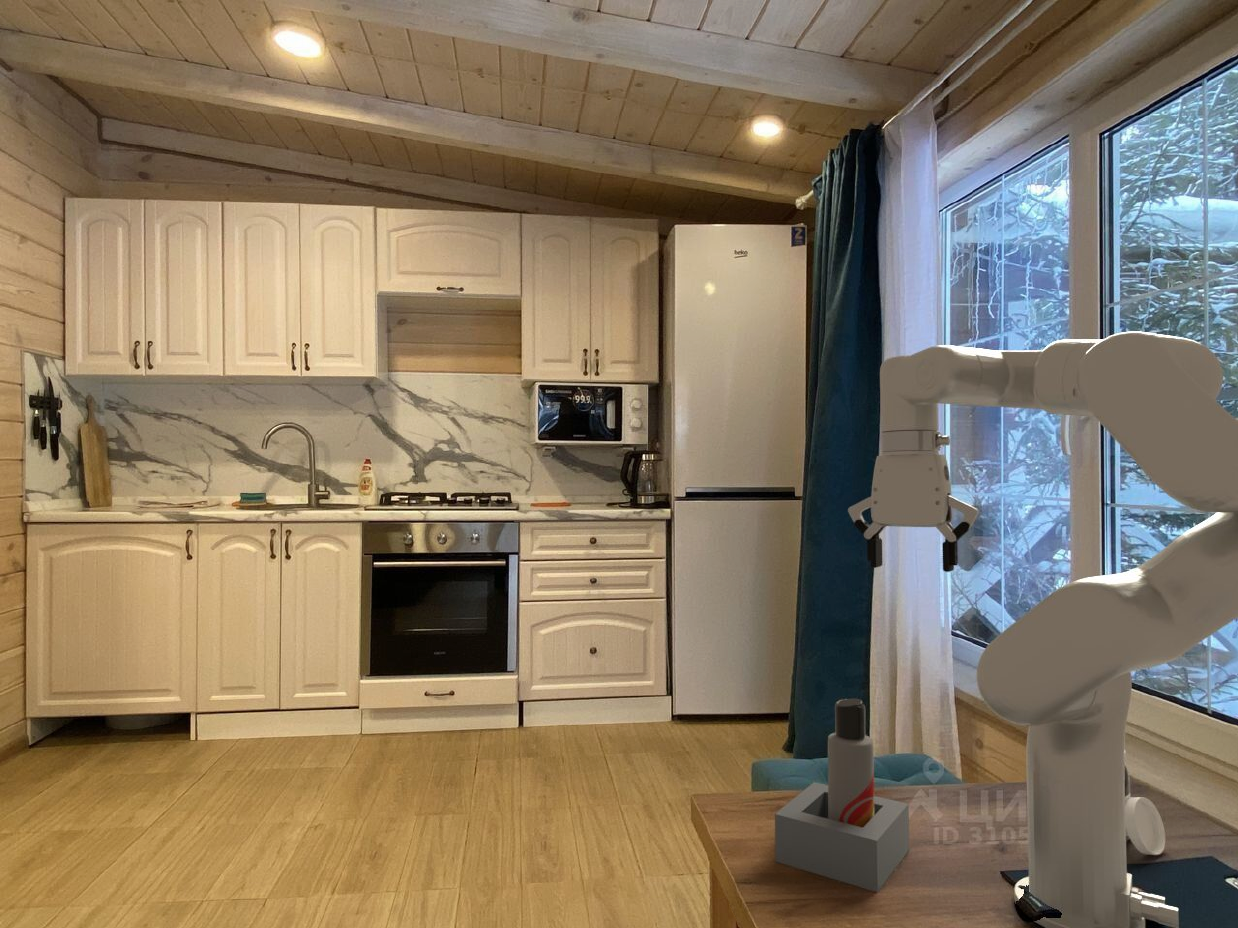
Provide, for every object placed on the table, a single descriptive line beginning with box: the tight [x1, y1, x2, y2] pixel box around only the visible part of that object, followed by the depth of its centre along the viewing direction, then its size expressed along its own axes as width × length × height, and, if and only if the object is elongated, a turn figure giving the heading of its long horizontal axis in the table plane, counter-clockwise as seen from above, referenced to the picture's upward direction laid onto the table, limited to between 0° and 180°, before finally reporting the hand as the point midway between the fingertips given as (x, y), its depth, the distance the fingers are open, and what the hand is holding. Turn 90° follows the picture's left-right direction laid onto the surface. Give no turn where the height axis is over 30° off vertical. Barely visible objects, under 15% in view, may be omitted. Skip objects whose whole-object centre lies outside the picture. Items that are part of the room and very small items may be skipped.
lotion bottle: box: [827, 698, 875, 828], centre depth 100 cm, size 6×6×20 cm
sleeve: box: [774, 781, 910, 893], centre depth 100 cm, size 13×13×6 cm
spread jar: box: [1124, 749, 1166, 856], centre depth 105 cm, size 12×11×12 cm
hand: (911, 568), depth 107 cm, fingers open, 9 cm apart
